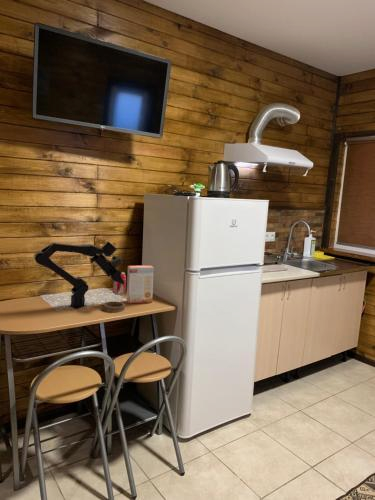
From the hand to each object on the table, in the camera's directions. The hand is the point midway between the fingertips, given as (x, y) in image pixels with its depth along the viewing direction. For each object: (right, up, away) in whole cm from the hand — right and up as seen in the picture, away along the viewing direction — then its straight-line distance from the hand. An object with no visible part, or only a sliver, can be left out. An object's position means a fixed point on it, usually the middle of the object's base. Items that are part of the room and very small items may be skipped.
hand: (122, 282), depth 214 cm
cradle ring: (-3, -14, -9) cm, 16 cm away
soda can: (-2, -7, 0) cm, 7 cm away
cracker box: (+9, -12, +7) cm, 17 cm away
